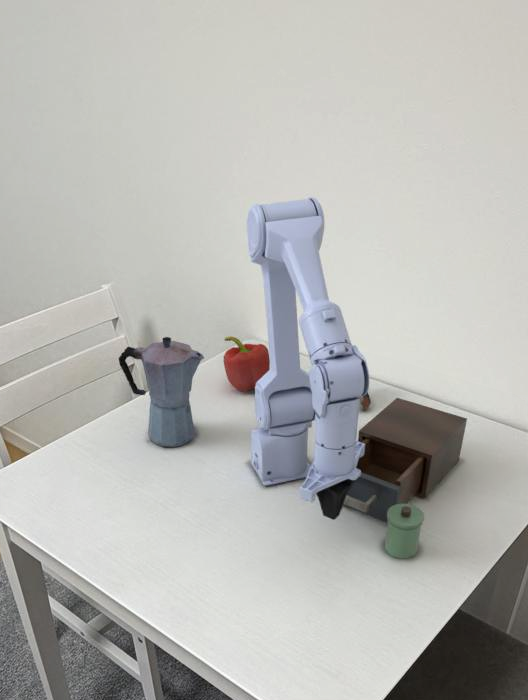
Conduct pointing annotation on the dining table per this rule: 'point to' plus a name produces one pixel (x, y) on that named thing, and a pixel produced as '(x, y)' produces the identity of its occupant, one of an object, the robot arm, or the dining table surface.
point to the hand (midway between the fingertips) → (330, 515)
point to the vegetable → (246, 364)
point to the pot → (403, 530)
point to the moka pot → (166, 388)
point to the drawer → (384, 479)
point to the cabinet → (420, 437)
